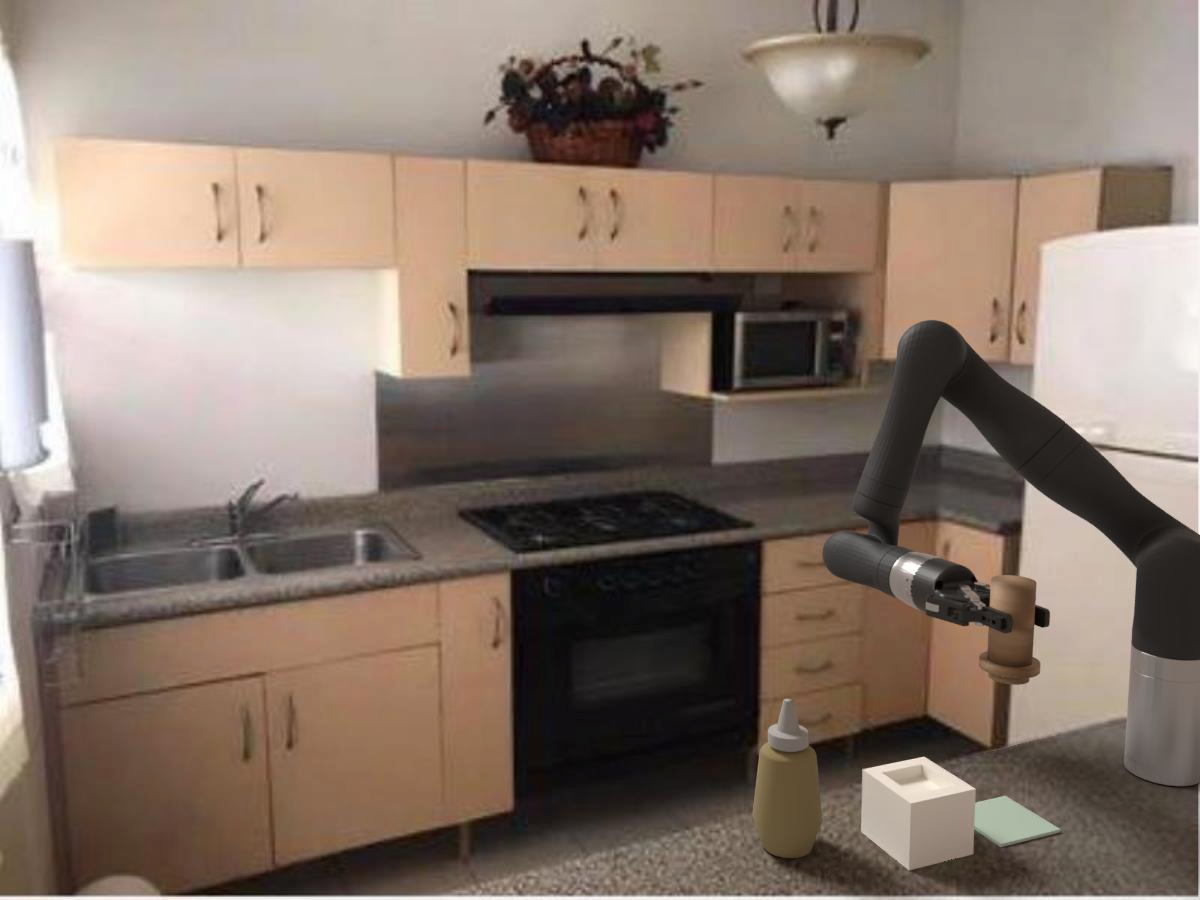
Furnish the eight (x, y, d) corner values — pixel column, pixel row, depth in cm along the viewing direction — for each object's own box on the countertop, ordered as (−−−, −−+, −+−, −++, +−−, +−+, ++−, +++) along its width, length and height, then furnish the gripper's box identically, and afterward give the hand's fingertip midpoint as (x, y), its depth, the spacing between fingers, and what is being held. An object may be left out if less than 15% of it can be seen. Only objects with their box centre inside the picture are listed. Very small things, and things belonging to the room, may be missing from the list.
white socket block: (922, 817, 122) (924, 756, 121) (973, 854, 114) (975, 788, 113) (861, 831, 119) (862, 769, 118) (908, 870, 110) (910, 803, 109)
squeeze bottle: (749, 860, 113) (750, 711, 111) (755, 825, 121) (756, 685, 118) (821, 869, 111) (823, 717, 109) (822, 832, 119) (824, 690, 116)
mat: (1005, 798, 126) (1005, 795, 126) (1060, 832, 118) (1060, 829, 118) (948, 811, 123) (948, 808, 123) (1000, 847, 115) (1000, 844, 115)
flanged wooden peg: (1010, 664, 123) (1015, 570, 121) (1052, 683, 116) (1058, 585, 115) (966, 671, 120) (970, 576, 119) (1006, 691, 114) (1011, 591, 112)
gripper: (888, 562, 127) (981, 597, 112) (976, 552, 132) (1078, 584, 117) (886, 618, 129) (978, 661, 113) (974, 606, 133) (1074, 645, 118)
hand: (1028, 621), depth 115 cm, fingers closed on flanged wooden peg, 5 cm apart
